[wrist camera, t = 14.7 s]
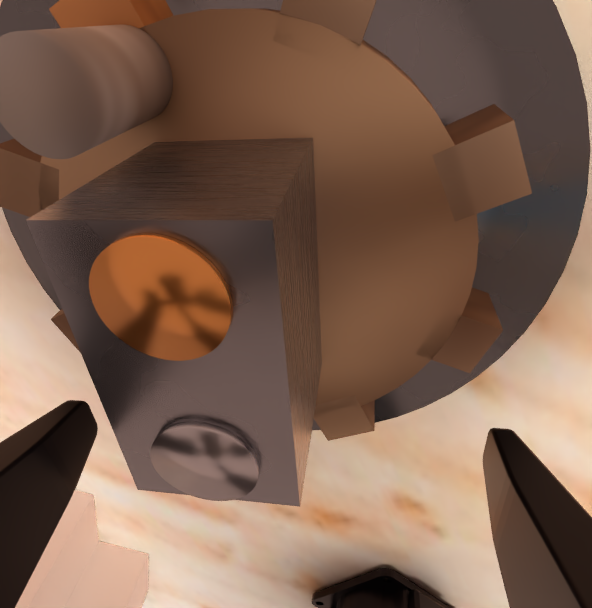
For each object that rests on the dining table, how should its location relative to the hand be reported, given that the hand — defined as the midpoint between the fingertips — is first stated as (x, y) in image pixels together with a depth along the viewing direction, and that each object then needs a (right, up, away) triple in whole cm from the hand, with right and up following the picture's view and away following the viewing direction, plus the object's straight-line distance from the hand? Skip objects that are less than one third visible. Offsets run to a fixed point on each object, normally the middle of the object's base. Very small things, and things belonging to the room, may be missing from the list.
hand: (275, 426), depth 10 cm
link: (-1, +4, +3) cm, 5 cm away
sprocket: (-1, +5, +5) cm, 7 cm away
